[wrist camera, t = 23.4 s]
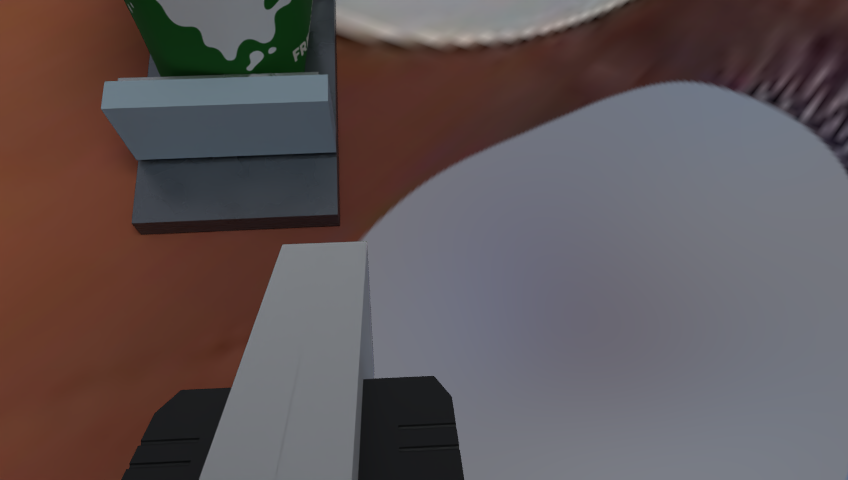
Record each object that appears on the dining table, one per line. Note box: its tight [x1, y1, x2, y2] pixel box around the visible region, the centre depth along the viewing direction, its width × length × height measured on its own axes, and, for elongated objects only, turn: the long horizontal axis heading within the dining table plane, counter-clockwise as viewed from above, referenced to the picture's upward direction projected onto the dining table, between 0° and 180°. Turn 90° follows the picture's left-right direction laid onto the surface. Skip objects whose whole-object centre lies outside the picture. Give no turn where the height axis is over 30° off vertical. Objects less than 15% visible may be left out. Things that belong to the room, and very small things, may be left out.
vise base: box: [132, 0, 340, 235], centre depth 39 cm, size 17×11×6 cm, turn 4°
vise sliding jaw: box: [101, 72, 336, 160], centre depth 37 cm, size 2×11×5 cm, turn 94°
